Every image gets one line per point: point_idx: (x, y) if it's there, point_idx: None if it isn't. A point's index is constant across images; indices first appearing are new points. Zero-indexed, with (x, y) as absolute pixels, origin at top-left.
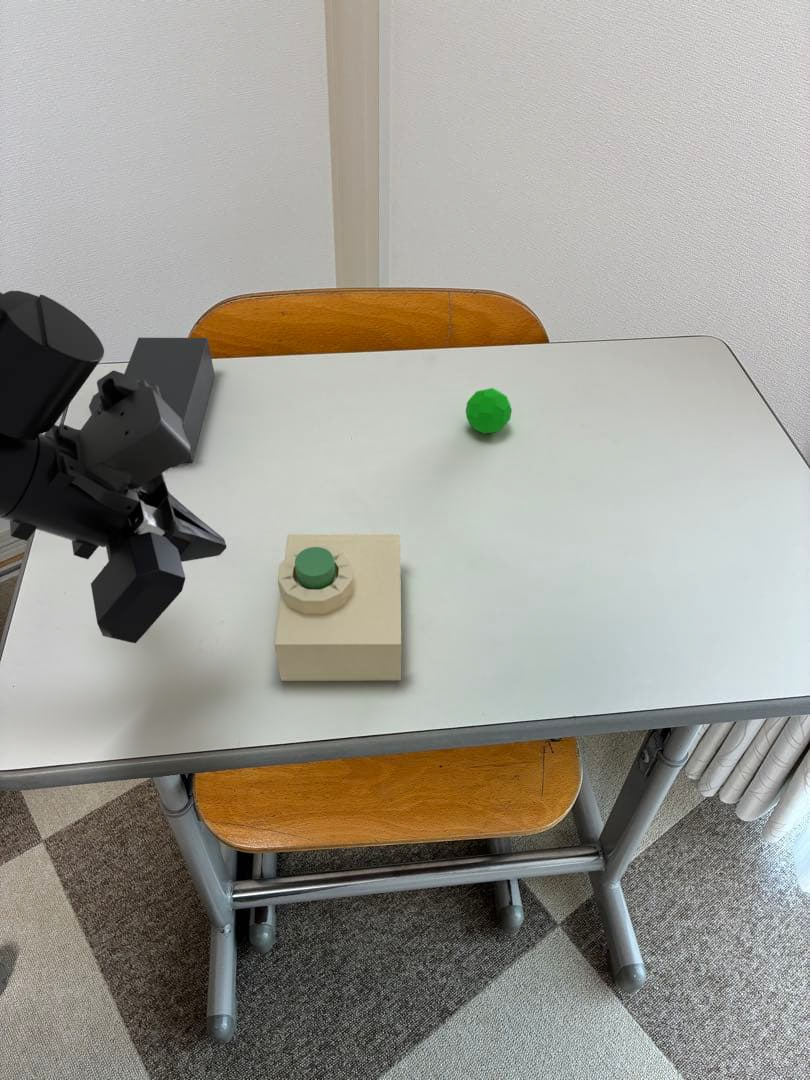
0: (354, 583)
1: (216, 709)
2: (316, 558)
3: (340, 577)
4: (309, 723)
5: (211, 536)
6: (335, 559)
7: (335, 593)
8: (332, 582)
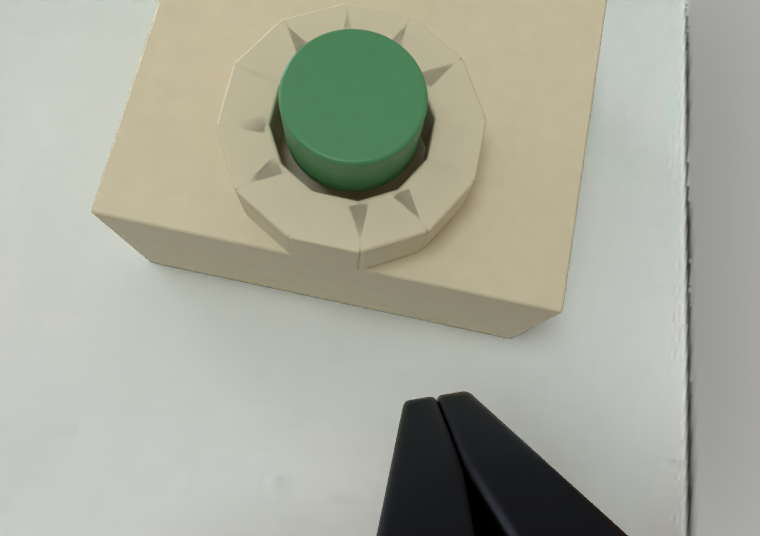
0: None
1: None
2: (341, 86)
3: None
4: (640, 286)
5: (498, 473)
6: None
7: (462, 76)
8: None
